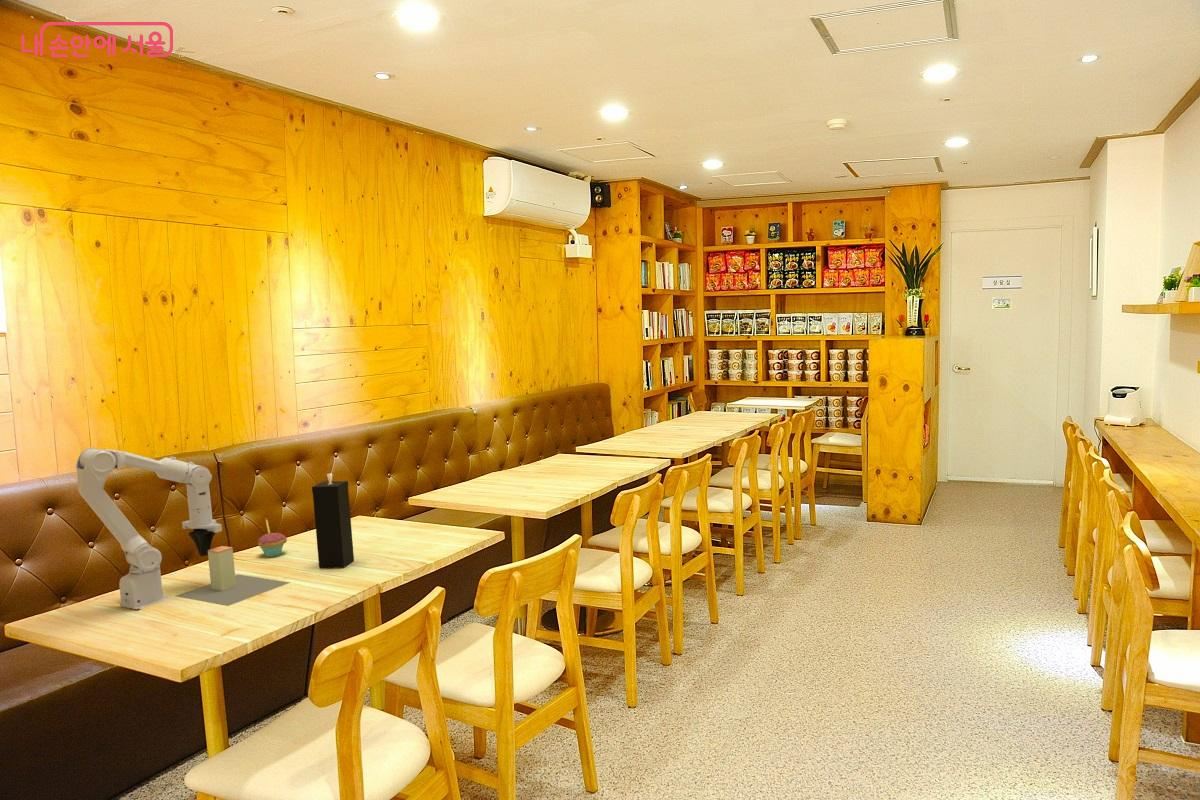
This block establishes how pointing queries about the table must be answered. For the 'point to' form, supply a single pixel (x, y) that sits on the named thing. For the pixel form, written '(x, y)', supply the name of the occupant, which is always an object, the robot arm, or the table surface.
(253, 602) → the table surface
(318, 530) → the black pillar candle
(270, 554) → the cupcake
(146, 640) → the table surface
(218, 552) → the sage block
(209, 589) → the rubber mat
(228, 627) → the table surface
